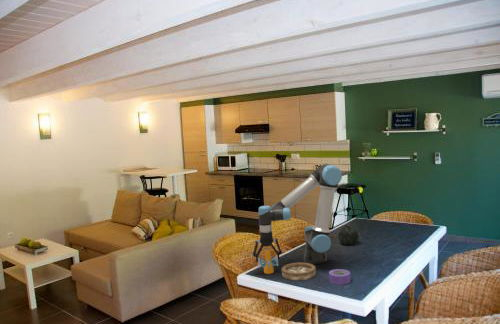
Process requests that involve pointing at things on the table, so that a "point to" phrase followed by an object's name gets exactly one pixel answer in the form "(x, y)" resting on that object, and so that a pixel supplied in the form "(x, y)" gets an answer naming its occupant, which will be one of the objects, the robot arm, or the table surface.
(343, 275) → the tape roll
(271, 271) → the orange upright piece
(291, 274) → the round brown basket
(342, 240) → the squash
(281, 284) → the table surface
